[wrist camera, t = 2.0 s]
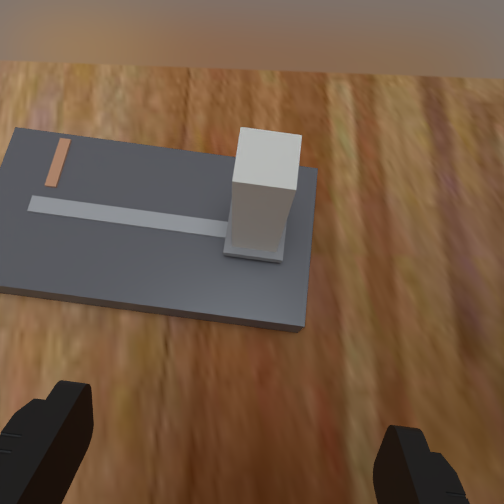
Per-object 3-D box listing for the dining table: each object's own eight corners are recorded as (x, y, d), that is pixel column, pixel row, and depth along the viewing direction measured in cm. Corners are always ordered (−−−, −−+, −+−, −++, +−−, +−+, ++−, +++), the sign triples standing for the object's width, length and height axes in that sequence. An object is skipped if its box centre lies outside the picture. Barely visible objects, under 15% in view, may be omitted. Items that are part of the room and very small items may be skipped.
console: (310, 187, 34) (318, 167, 31) (297, 332, 30) (305, 326, 27) (33, 149, 34) (14, 125, 31) (-16, 290, 30) (-44, 279, 27)
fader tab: (287, 210, 29) (312, 128, 20) (281, 263, 28) (306, 201, 19) (231, 202, 29) (232, 116, 20) (223, 255, 28) (219, 189, 19)
